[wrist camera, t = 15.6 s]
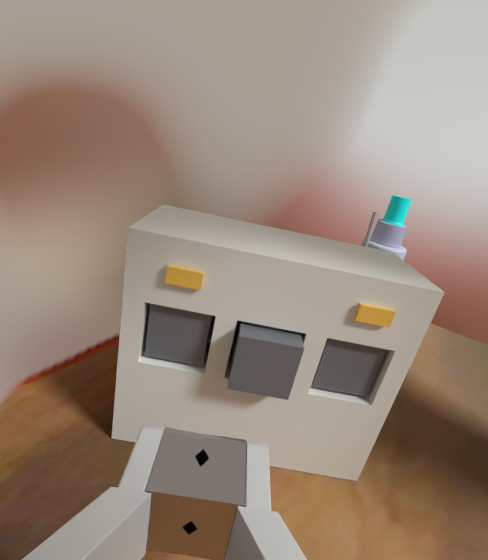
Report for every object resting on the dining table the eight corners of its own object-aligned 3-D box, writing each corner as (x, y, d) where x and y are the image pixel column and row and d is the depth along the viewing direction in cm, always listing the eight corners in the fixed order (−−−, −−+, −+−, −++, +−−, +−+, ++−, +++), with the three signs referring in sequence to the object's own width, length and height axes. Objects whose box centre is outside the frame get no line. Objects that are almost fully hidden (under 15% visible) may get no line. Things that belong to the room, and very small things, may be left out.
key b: (353, 367, 30) (370, 324, 28) (367, 396, 26) (387, 349, 25) (305, 358, 30) (319, 314, 28) (312, 386, 26) (328, 338, 25)
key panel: (334, 406, 37) (392, 252, 31) (358, 485, 29) (447, 294, 22) (144, 371, 36) (163, 204, 30) (109, 442, 28) (125, 229, 21)
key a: (208, 340, 29) (217, 294, 28) (202, 366, 26) (211, 315, 24) (157, 330, 29) (163, 283, 27) (144, 355, 26) (150, 303, 24)
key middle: (283, 368, 28) (297, 321, 26) (288, 400, 24) (304, 348, 23) (230, 358, 27) (241, 310, 26) (227, 388, 24) (239, 336, 22)
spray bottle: (331, 322, 57) (376, 190, 49) (367, 333, 56) (419, 200, 48) (331, 340, 51) (382, 193, 43) (371, 352, 50) (431, 205, 42)
